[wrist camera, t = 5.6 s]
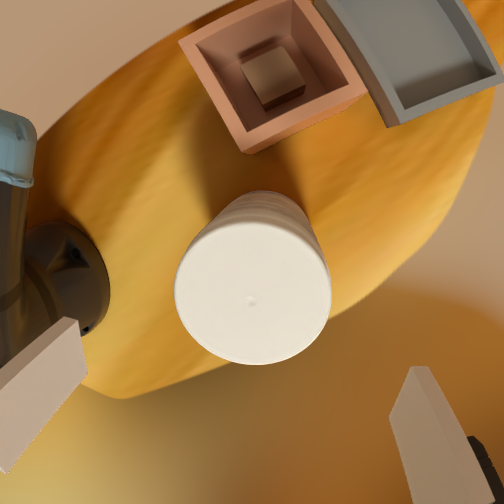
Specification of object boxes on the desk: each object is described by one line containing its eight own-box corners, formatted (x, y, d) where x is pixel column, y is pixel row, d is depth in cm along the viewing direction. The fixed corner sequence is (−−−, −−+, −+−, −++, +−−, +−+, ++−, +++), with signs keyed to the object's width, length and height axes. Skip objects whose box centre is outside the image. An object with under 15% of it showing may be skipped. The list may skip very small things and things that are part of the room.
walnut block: (265, 112, 28) (262, 104, 24) (245, 77, 27) (239, 65, 23) (303, 93, 27) (306, 83, 23) (282, 59, 26) (282, 45, 22)
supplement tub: (202, 210, 32) (141, 250, 18) (291, 175, 30) (299, 186, 16) (240, 295, 34) (211, 382, 20) (325, 265, 32) (352, 342, 18)
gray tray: (387, 128, 28) (400, 124, 24) (312, 5, 25) (315, -13, 21) (486, 86, 24) (506, 81, 21) (420, -23, 21) (432, -38, 18)
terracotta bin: (253, 154, 30) (241, 152, 21) (205, 70, 28) (177, 41, 19) (344, 110, 28) (368, 91, 19) (294, 27, 26) (297, -15, 17)
